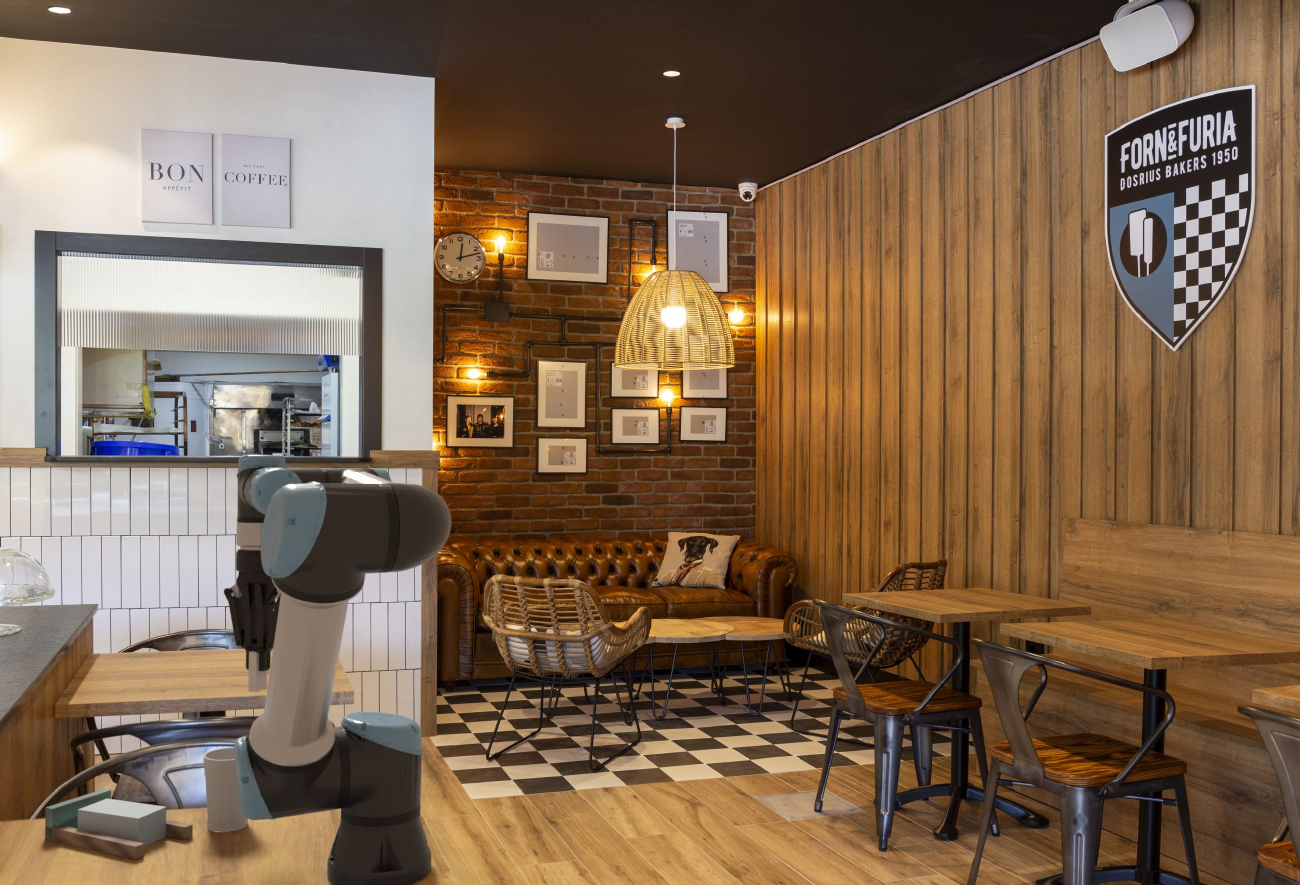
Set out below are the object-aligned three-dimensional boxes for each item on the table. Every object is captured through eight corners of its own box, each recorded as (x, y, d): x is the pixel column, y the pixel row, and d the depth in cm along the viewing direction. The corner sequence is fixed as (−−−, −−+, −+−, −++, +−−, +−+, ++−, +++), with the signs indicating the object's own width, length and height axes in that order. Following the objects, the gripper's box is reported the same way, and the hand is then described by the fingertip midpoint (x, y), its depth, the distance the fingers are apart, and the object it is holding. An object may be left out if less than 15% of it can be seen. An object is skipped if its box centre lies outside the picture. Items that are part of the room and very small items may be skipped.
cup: (203, 820, 184) (205, 748, 185) (254, 816, 187) (255, 745, 187) (199, 836, 177) (201, 761, 177) (251, 831, 179) (253, 758, 179)
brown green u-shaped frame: (192, 837, 176) (193, 806, 176) (135, 859, 166) (136, 827, 166) (104, 818, 184) (104, 788, 184) (44, 839, 174) (45, 807, 174)
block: (165, 837, 176) (166, 806, 177) (137, 850, 171) (138, 818, 171) (106, 828, 180) (107, 798, 180) (77, 841, 174) (77, 809, 174)
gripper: (307, 547, 182) (304, 689, 182) (244, 544, 187) (241, 682, 186) (277, 551, 175) (274, 698, 175) (212, 547, 180) (209, 691, 179)
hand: (257, 689), depth 181 cm, fingers closed
